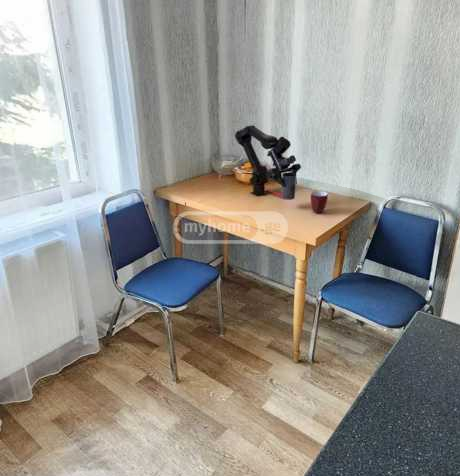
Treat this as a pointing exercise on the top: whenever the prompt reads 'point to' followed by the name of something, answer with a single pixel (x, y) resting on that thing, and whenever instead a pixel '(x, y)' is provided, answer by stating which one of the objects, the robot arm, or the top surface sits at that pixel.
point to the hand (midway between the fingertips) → (290, 185)
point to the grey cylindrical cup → (289, 186)
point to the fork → (274, 193)
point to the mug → (318, 201)
